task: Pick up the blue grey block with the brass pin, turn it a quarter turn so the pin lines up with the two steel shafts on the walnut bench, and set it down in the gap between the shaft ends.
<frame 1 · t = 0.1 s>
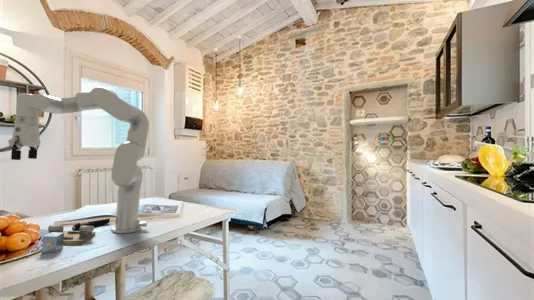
hand: (24, 159, 115), 31 cm above the table, tool pointing down, fingers open, 9 cm apart
electric trimmer: (90, 227, 123), on the table
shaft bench: (70, 239, 106), on the table
blue grey block: (52, 250, 95), on the table
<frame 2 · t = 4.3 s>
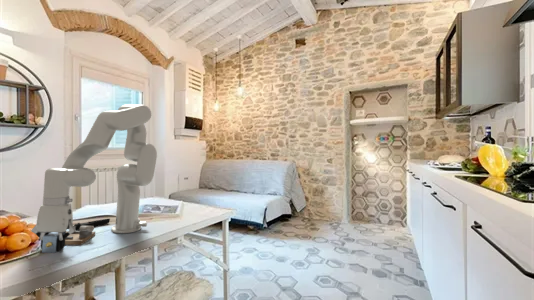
hand: (52, 249, 95), 0 cm above the table, tool pointing down, fingers closed on blue grey block, 4 cm apart
blue grey block: (52, 250, 95), on the table, touching gripper
everything else where it was.
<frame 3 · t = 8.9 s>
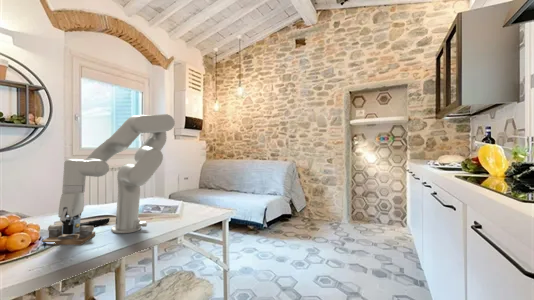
hand: (71, 231, 106), 3 cm above the table, tool pointing down, fingers closed on blue grey block, 4 cm apart
blue grey block: (71, 232, 106), point 3 cm above the table, touching gripper
everything else where it was.
when the fingers open (3 cm above the table, at t = 9.3 s): blue grey block drops 1 cm, resting on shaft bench.
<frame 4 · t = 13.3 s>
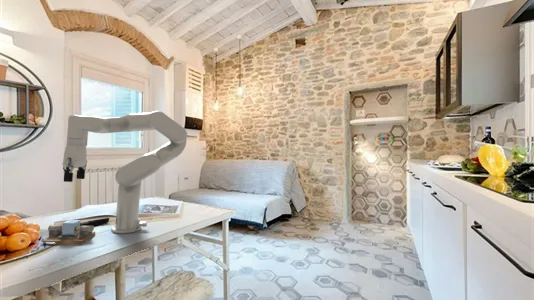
hand: (74, 180, 115), 23 cm above the table, tool pointing down, fingers open, 9 cm apart
blue grey block: (70, 235, 106), point 1 cm above the table, touching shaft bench
at the end: blue grey block 0.1 cm off-centre on the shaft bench, point 1.5 cm above the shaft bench's base; blue grey block tilted 0°; the gripper is holding nothing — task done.
